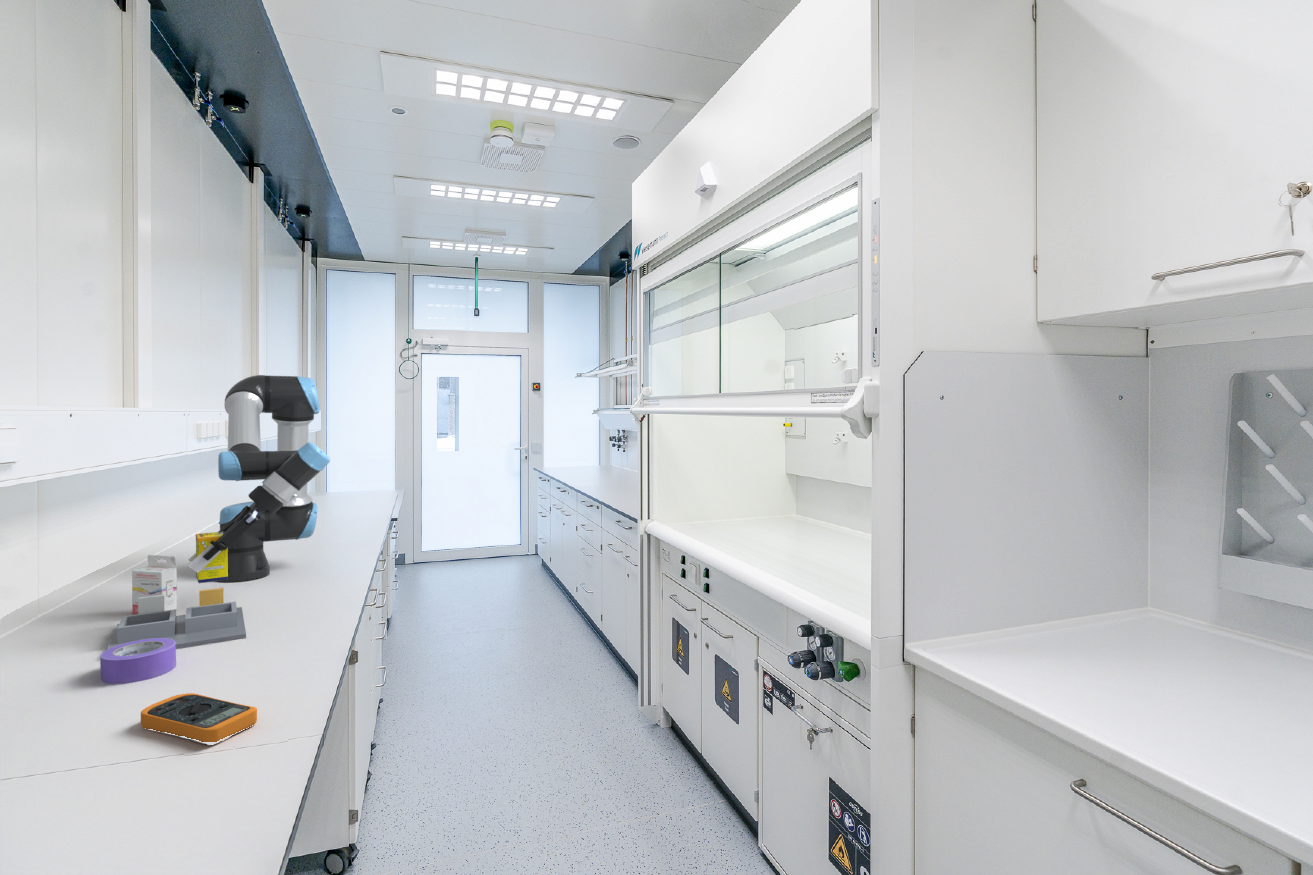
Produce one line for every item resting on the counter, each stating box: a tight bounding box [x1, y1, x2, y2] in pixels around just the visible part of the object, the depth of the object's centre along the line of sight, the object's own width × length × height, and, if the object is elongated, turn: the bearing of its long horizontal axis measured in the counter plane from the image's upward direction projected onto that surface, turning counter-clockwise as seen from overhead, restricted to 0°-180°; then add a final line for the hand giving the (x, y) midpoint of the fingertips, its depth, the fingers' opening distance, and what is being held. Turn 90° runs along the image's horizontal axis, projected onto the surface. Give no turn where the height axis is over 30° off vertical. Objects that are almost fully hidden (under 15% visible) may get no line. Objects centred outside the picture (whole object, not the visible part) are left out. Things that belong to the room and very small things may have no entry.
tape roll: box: [99, 638, 177, 685], centre depth 127 cm, size 12×12×5 cm
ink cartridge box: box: [131, 554, 178, 615], centre depth 163 cm, size 9×5×15 cm, turn 84°
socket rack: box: [106, 587, 247, 650], centre depth 149 cm, size 24×25×7 cm
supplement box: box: [195, 531, 228, 584], centre depth 152 cm, size 6×6×11 cm
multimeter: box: [140, 692, 258, 742], centre depth 106 cm, size 9×18×3 cm, turn 71°
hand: (193, 565), depth 150 cm, fingers closed on supplement box, 6 cm apart
